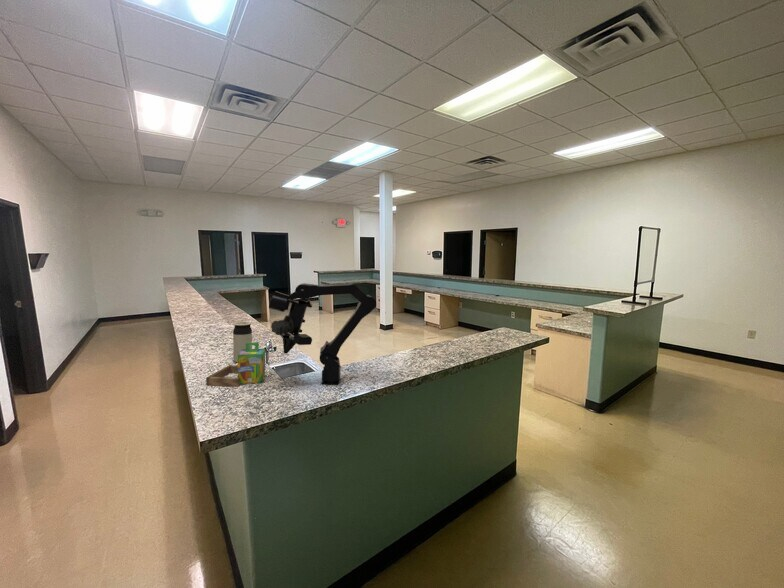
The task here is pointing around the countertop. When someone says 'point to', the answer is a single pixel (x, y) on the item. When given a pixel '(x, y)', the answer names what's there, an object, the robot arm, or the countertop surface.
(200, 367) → the countertop surface
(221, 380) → the block
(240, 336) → the travel mug
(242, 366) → the chalk box
